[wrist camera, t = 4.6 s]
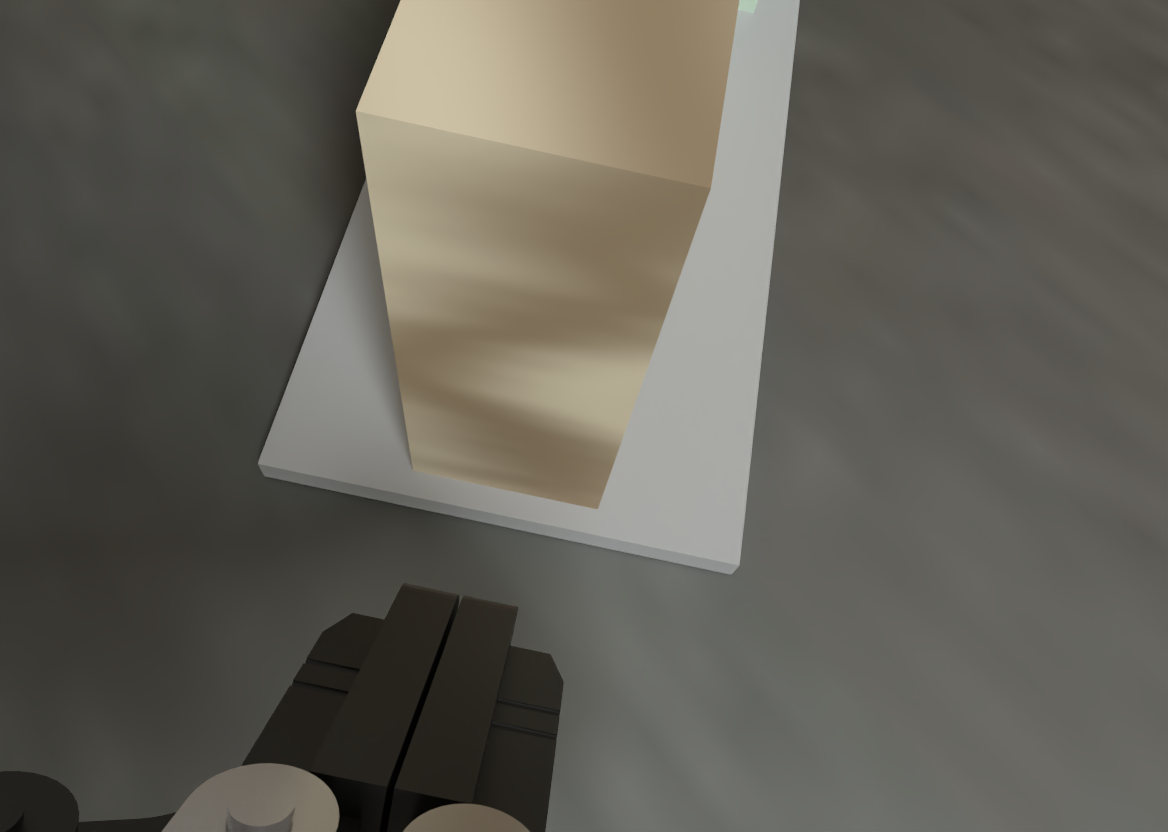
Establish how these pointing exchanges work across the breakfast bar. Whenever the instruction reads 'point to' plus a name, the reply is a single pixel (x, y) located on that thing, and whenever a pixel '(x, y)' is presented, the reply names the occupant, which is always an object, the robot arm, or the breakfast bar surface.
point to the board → (668, 392)
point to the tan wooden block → (537, 220)
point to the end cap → (747, 5)
